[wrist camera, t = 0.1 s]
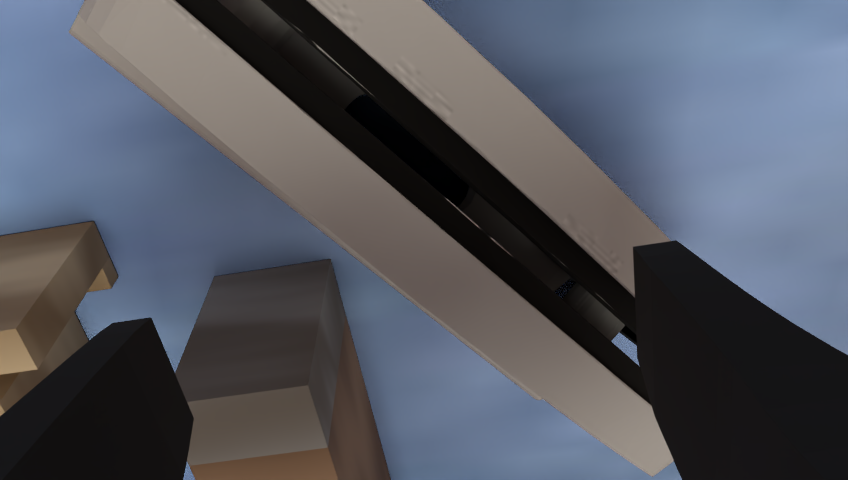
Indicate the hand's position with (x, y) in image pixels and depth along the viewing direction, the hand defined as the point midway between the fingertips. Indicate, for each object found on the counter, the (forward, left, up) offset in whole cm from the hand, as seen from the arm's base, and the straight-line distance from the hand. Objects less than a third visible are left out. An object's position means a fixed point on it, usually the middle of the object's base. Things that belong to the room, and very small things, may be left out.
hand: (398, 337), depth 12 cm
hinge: (-1, 0, -10) cm, 10 cm away
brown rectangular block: (-11, +5, -10) cm, 16 cm away
